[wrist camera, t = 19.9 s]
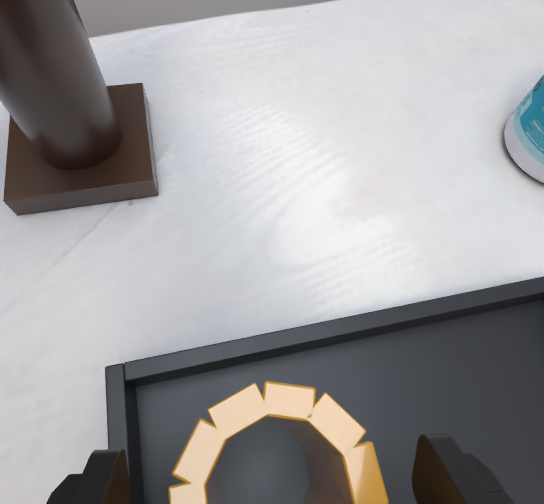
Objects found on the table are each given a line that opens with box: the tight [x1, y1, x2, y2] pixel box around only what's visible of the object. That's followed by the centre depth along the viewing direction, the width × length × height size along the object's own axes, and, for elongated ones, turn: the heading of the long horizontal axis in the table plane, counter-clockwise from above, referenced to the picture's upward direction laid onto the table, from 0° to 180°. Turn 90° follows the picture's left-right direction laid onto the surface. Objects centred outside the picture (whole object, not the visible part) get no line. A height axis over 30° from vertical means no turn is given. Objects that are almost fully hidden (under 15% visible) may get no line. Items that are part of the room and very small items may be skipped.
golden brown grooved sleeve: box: [168, 381, 389, 504], centre depth 14 cm, size 6×6×8 cm
